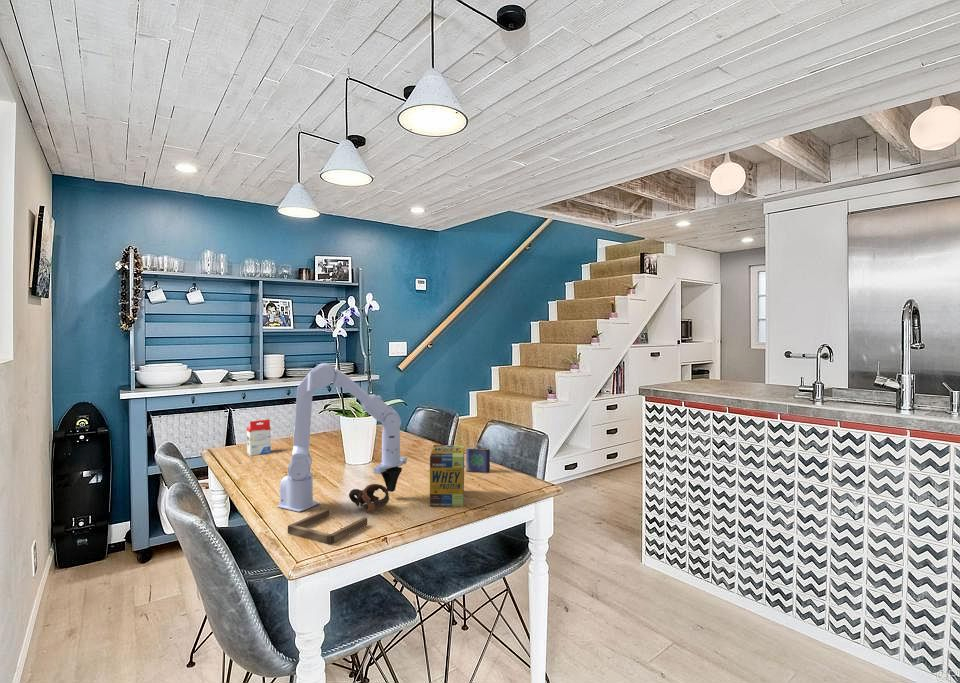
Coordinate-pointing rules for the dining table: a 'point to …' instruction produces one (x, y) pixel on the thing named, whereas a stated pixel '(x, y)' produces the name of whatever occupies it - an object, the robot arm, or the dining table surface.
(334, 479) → the dining table surface
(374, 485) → the dark brown curved piece
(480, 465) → the navy clover print box
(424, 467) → the dining table surface
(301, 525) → the walnut open-sided frame
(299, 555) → the dining table surface
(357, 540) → the dining table surface
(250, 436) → the ink box
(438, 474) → the protein box
